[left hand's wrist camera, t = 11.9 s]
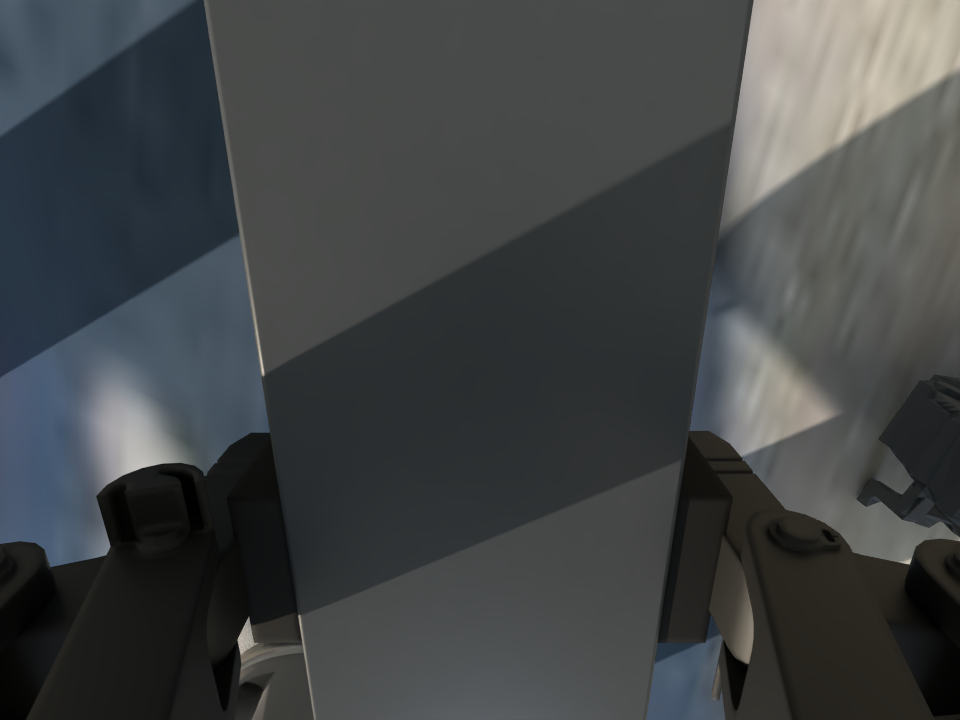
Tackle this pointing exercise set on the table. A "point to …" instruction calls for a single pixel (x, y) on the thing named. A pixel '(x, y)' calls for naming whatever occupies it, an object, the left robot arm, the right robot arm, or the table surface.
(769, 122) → the table surface
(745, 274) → the table surface
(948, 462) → the toy
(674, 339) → the bar
